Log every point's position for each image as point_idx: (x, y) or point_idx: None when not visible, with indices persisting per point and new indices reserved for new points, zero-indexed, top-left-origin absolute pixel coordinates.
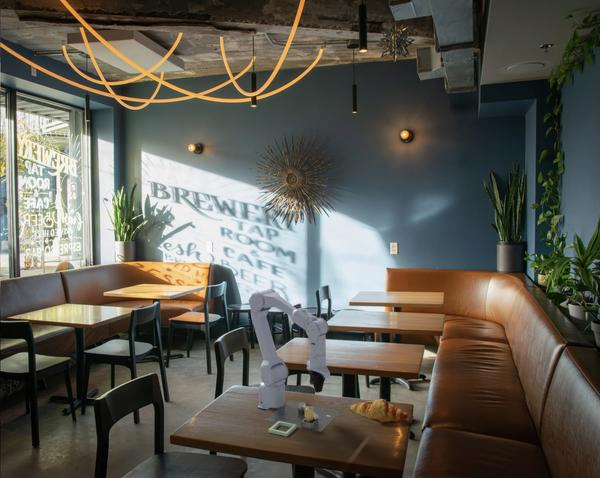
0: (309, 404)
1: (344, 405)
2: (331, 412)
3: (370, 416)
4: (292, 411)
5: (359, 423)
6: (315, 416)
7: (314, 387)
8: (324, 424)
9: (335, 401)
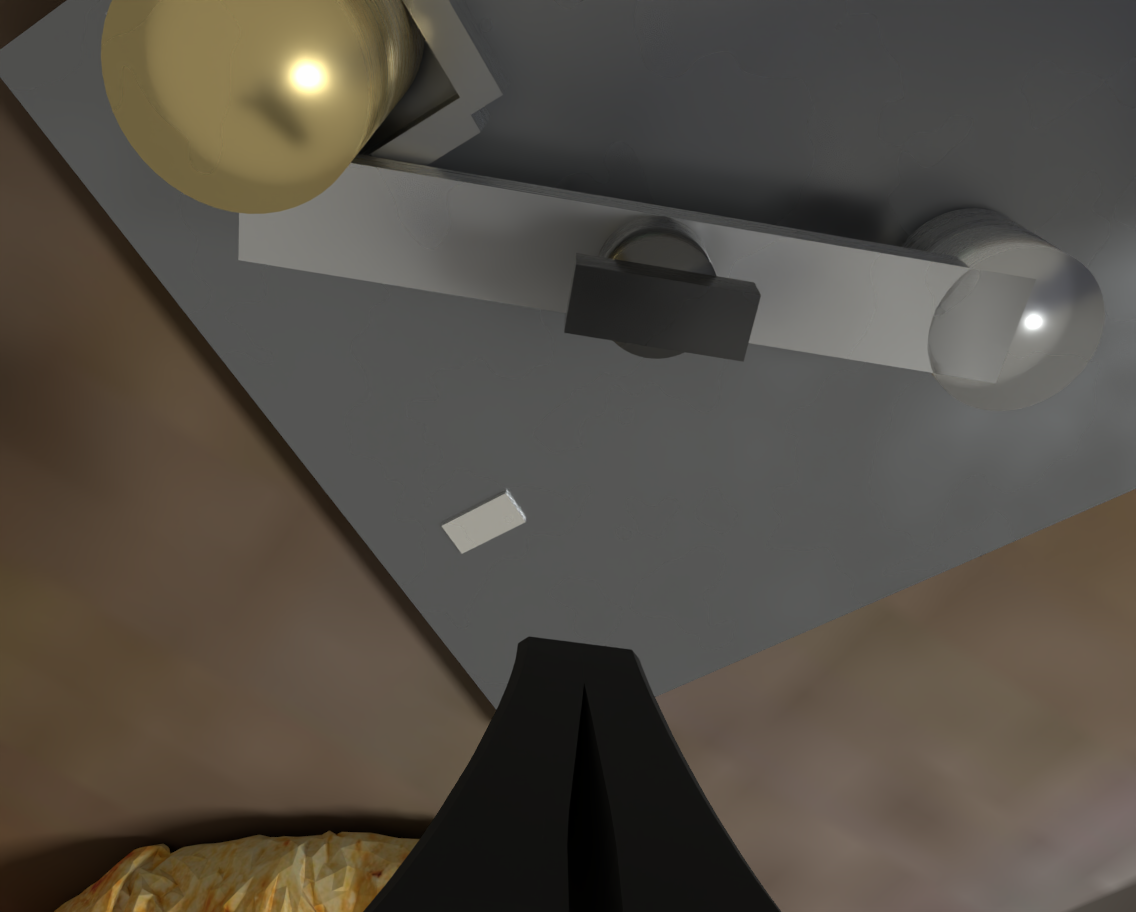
0: (634, 326)
1: None
2: (571, 627)
3: (99, 897)
4: (1087, 115)
5: (142, 725)
6: None
7: (613, 718)
8: (235, 297)
9: (906, 862)
